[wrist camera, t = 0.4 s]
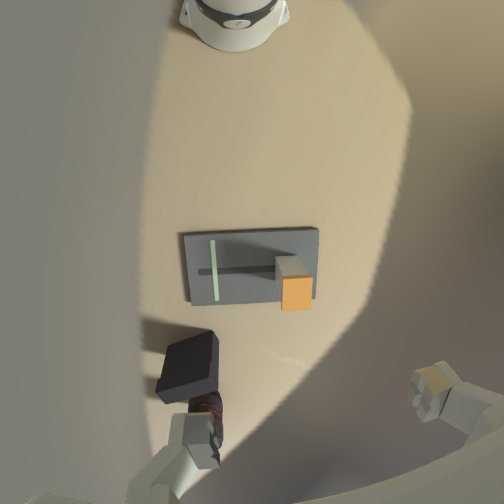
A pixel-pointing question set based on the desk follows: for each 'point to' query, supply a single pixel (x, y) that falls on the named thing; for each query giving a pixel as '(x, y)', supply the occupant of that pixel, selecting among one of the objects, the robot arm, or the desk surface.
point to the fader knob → (293, 283)
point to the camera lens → (209, 408)
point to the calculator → (189, 369)
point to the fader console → (244, 264)
